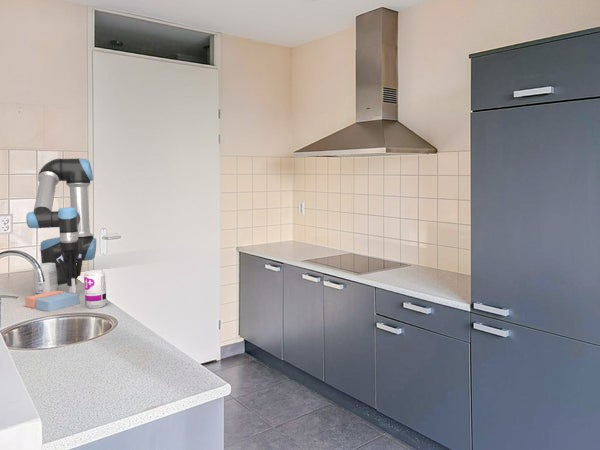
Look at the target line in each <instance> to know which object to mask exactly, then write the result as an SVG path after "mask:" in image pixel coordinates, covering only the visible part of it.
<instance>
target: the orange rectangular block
mask: <svg viewBox="0 0 600 450" xmlns="http://www.w3.org/2000/svg"><path fill="white" fill-rule="evenodd" d="M62 293H65V292H64V291H62V290H58V291H57V290H56V291H51V292H47V293H42V294H38V295H36V294H34V295H29V296H25V297H24V300H25V302H24V303H25V307H27V308H31V309H36V299H40V298H45V297H49V296H53V295H58V294H62Z"/></svg>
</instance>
